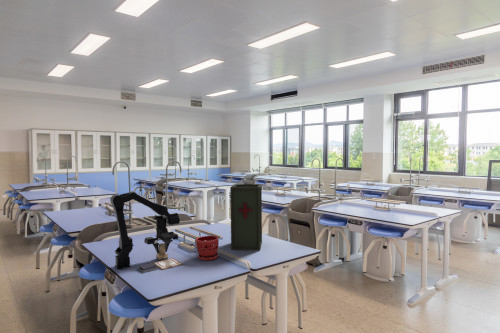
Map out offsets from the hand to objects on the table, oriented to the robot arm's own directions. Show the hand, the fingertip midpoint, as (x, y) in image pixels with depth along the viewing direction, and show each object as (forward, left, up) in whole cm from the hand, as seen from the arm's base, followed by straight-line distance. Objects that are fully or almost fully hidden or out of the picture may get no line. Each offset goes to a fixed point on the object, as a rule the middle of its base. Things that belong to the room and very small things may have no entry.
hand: (161, 253), depth 191 cm
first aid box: (+54, -12, -4) cm, 55 cm away
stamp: (0, 0, -4) cm, 4 cm away
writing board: (-1, -11, -4) cm, 11 cm away
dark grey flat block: (-13, -11, -4) cm, 17 cm away
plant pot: (+21, -16, -4) cm, 27 cm away
